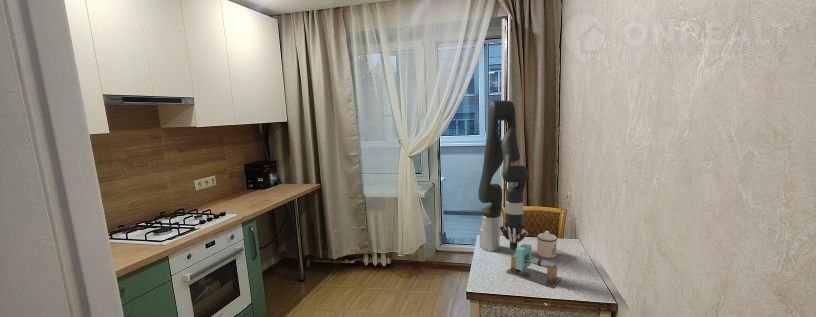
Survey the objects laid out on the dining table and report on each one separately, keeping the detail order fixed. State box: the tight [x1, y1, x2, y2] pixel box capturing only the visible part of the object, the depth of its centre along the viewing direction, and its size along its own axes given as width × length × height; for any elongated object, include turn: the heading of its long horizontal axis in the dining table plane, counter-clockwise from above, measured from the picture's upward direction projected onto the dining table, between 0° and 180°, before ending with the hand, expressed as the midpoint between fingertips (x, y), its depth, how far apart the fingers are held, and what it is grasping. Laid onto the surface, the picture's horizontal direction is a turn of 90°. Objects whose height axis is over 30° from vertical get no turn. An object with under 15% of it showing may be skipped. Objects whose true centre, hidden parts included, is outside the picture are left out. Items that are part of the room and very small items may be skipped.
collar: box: [515, 243, 532, 270], centre depth 155 cm, size 3×8×9 cm, turn 135°
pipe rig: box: [506, 251, 562, 289], centre depth 153 cm, size 20×9×8 cm, turn 45°
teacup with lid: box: [536, 230, 558, 259], centre depth 176 cm, size 12×9×12 cm
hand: (513, 249), depth 158 cm, fingers closed
